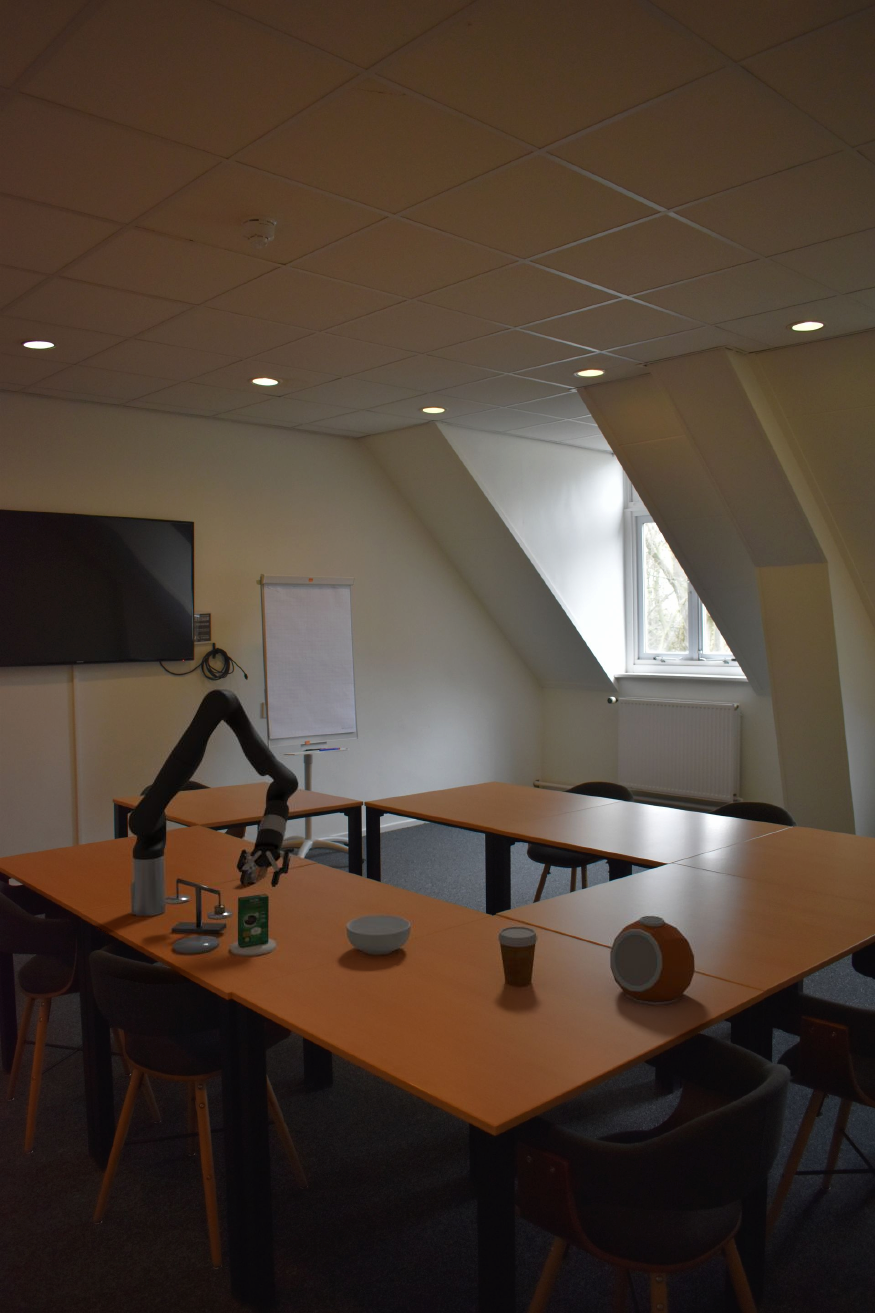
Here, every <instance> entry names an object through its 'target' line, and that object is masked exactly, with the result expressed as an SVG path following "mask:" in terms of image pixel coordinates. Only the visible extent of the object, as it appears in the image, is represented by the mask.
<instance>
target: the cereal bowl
mask: <svg viewBox="0 0 875 1313" xmlns="http://www.w3.org/2000/svg"><path fill="white" fill-rule="evenodd" d="M410 936H411V923H410V921H409V920H408V919H406V918H403V917H401V916H396V915H388V914H372V915H371V914H370V915H365V916H360V917H357V918H354V919H351V920H350V921H348V922H347V924H346V937H347V940H348V941H349V943H350V944H351V945H352V946H353V947H354V948H356V949H357V950H360V951H362V952H364V953H365V954H367V953H368V954H369V955H371V954H372V956H382V954H384V955H388V954H390V953H392V952H393V951H397V950H399V949H401V948H402V947H403V946H404V945H405V944H406V943H407V941H408V940H409V938H410Z"/></svg>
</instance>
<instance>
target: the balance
mask: <svg viewBox="0 0 875 1313" xmlns="http://www.w3.org/2000/svg"><path fill="white" fill-rule="evenodd" d="M179 884H181V885H185V886H188V887H191V888H194V890H195V921H193V922H192V921H178V923H177V924H175V925H174V926H172V928H171V933H172V932H179V933H178V934H206V935H207V934H209V935H210V934H213V935H219V934H220V933H222V932H223V931H224V930H225V929H226V928H227V923H226V922H203V910H202V908H203V907H202V905H203V904H202V891H204V892H208V893H211V894H214V895H218V897H217V898H218V904H215V905H214V910H211V911H208V912H207V918H208V919H209V920H213V921H214V920H216V921H217V920H226V919H230V918H231V917H232V916H233V911H232V910H230V909H226V905H225V904H222V900H221V897H222V896H221V890H219V889H215V888H212V887H209V886H206V885H202V884H199V883H195V882H192V881H189V880H185V879H182V878H176V880H175V886H176V887H175V888H176V890H175V891H176V892H175V893H176V894H173V895H170V896H167V897H165V903H166V905H167V904H168V905H181V904H186V903H189V902H190V901H191V896H190V895H189V894H188V895H187V894H179V893H180V892H179ZM221 931H222V932H221Z"/></svg>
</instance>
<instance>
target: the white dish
mask: <svg viewBox="0 0 875 1313" xmlns="http://www.w3.org/2000/svg"><path fill="white" fill-rule="evenodd" d="M229 949H230V953H231V952H232V954H233V955H236V956H239V957H240V956H241V957H258V956H262V955H266V954H269V953H271V952H273V951H275V950H276V949H277V944H276V941H275V940H273V939H271V938H269V941H268V943H265V944H259V945H254V946H249V947H243V948H240V947H239V946H238V940H237V941H234V942H232V943H231V945H230V948H229Z"/></svg>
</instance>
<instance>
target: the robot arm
mask: <svg viewBox="0 0 875 1313" xmlns="http://www.w3.org/2000/svg"><path fill="white" fill-rule="evenodd" d="M222 721H223V722H224V723H225V724H226V725H227V726H228V728H230V730H231V731H232V732H233V733H234V735H235V737H236V738H237V740H238V743H239V745H240V748H241V751H242V753H243V754H244V756H245V758H246V760H247V761H248V762H249V764H250V765H251V766H252V767H253V769H254V771H255V773H257V775H259V776H260V777H266V776H268V777H269V778H271V779H272V781H271V783H270V784H269V786H268V787H267V790H266V793H265V794H266V795H265V808H264V812H263V816H262V819H261V821H260V823H259V827H258V831H257V834H256V839H255V842H254V846H253V849H252V851H247V850H246V849H241V852H240V856H239V858H238V861H237V863H236V864H237V865H236V868H237V871H238V872H239V873H241V874H240V878H239V883H240V884H241V885H242V887H246V886H247V883H248V882H247V879H248V873H250V872H251V871H252V870H254V869H256V868H257V867H266V868H268V869H270V868H271V867H272V869H273V870H274V871H273V873H272V878H271V882H270V884H271V887H272V888H276V887H277V886H278V885H279V882H280V877H281V875H283V874H284V875H287V874H288V873H289V869H290V862H291V854H290V852H289V851H288V850H285V851H284V852H281V850H282V848H283V844H284V843H283V842H284V838H285V837H286V836H285V835H286V829H287V822H288V818H289V816H290V815H289V814H290V807H289V805H288V801H289V799H290V798H291V797H292V796H293V795H294V794H296V792H297V790H298V789H299V781H298V778H297V776H296V774H295V773H294V772H293V771H292V770H291V769H290V768H288V767H287V766H286V765H285V764H284V763H282V762H281V761H280V760H278V758H277V756H275V754H274V753H273V751H272V750H271V749H270V748H269V747H268V745H267V744H266V743H265V741H264V740H263V738H262V737H261V736H260V734H259V733H258V731H257V730H256V729H255V726H254V725H253V723H252V721H251V719H250V718H249V716H248V715H247V713H246V711H245V709H244V707H243V704H242V703H241V701H240V699H239V698H238V695H237V694H236V693H235V692H234V691H232V690H229V689H225V688H224V689H221V688H220V689H212V690H211V691H208V692H207V693H206V694H205V695H204V697H203V698H202V700H201V702H200V704H199V706H198V708H197V710H196V712H195V714H194V716H193V718H192V720H191V722H190V724H189V725H188V727H187V728H186V729H185V731H184V732H183V734H182V735H181V737H180V739H179V740H178V742H177V743H176V744H175V745H174V747H173V749H172V750H171V752H170V753H169V755H168V757H167V758H166V760H165V761H164V763H163V765H162V767H161V768H160V770H158V771H159V772H158V773H157V774H156V777H155V779H154V780H153V782H152V784H151V786H150V787H149V789H148V790H147V792H146V794H144V796H143V797H142V798H141V799H140V801H139V802H138V803H137V805H136V806H135V807H134V808H133V809H132V810H131V812H130V813H129V816H128V820H127V824H128V830H129V831H130V832H131V834H132V835H133V836H136V840H135V844H134V846H133V848H132V875H133V878H132V882H131V883H130V906H131V907H130V909H131V910H130V912H131V914H130V915H135V916H137V917H153V916H158V915H161V914H163V913H165V912H166V911H167V910H166V909H167V908H166V905H167V903H165V898H166V877H165V876H166V874H165V873H166V872H165V871H166V870H165V849H166V845H167V815H166V812H165V810H166V809H167V807H168V805H169V804H170V802H171V801H172V800H173V799H174V798H175V797H176V796H177V794H179V792H180V791H182V789H183V788H184V787H185V786H186V785H187V784H188V782H189V781H190V780H191V779H192V778H193V776H194V774H195V773H196V771H197V770H198V768H199V767H200V765H201V764H202V762H203V759H204V757H205V755H206V754H205V753H206V750H207V746H208V742H209V740H210V738H211V736H212V734H213V733H214V732H215V730H216V729H217V727H218V726H219V725H220V723H221V722H222ZM251 857H252V858H251ZM249 858H251V859H250V860H249V861H248V863H247V864H246V865H245V863H246V861H247V860H248V859H249ZM280 859H282V865H281V867H279V865H278V863H277V862H278V861H279V860H280ZM254 862H255V863H254ZM253 863H254V864H253Z"/></svg>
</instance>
